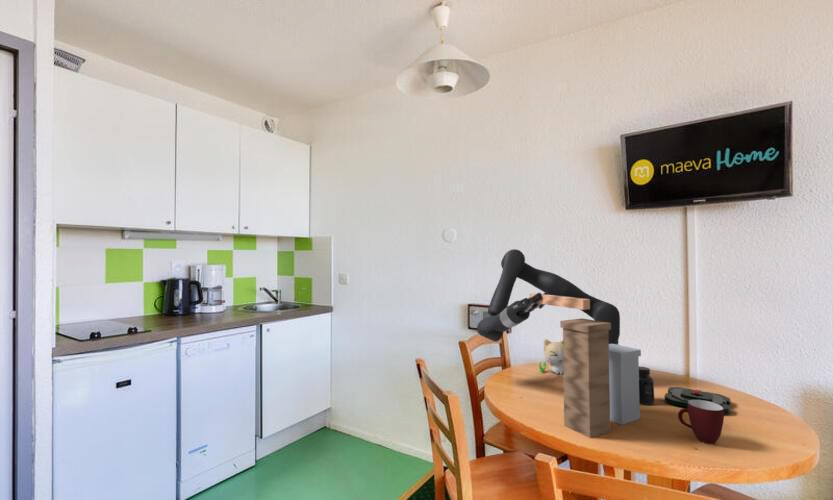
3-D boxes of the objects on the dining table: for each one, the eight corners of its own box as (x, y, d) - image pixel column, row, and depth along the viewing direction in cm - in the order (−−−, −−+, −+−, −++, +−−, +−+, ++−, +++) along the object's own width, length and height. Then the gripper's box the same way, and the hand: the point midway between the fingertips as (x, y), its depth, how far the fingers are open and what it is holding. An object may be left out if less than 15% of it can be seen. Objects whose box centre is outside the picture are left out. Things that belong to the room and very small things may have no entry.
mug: (675, 438, 107) (675, 403, 107) (680, 429, 113) (679, 395, 113) (723, 451, 100) (722, 413, 100) (725, 440, 106) (724, 404, 106)
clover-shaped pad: (663, 405, 132) (662, 392, 132) (670, 391, 146) (669, 379, 146) (729, 419, 120) (729, 405, 120) (730, 403, 134) (730, 390, 134)
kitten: (543, 375, 165) (542, 341, 165) (535, 369, 175) (535, 336, 175) (576, 375, 165) (576, 341, 166) (567, 369, 175) (567, 336, 176)
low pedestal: (593, 413, 124) (592, 346, 125) (613, 408, 129) (611, 343, 129) (622, 425, 115) (621, 353, 116) (642, 419, 120) (640, 349, 121)
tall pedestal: (561, 425, 116) (560, 320, 117) (583, 418, 121) (582, 318, 121) (590, 438, 107) (588, 325, 108) (612, 431, 112) (610, 322, 112)
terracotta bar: (529, 302, 133) (529, 293, 133) (535, 301, 134) (535, 293, 134) (583, 309, 114) (583, 299, 114) (589, 309, 115) (589, 299, 115)
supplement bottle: (652, 400, 136) (652, 366, 136) (655, 406, 130) (655, 371, 130) (631, 397, 139) (630, 364, 139) (632, 403, 133) (632, 369, 133)
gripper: (496, 306, 140) (525, 285, 127) (524, 304, 147) (554, 284, 134) (503, 325, 137) (533, 306, 124) (531, 322, 143) (563, 303, 130)
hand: (544, 295), depth 129 cm, fingers closed on terracotta bar, 3 cm apart
